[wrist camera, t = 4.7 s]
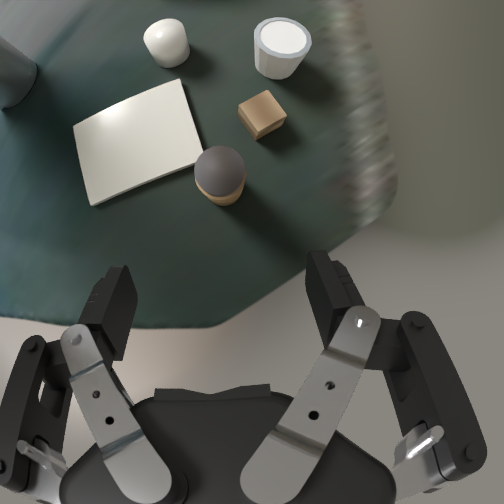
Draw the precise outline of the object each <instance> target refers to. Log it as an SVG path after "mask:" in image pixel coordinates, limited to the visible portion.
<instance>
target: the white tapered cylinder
mask: <svg viewBox="0 0 504 504" xmlns="http://www.w3.org/2000/svg"><path fill="white" fill-rule="evenodd" d="M254 42H255V66H256V68H257V70H258V71H259V72H260V73H261V74H262V75H263V76H265V77H268V78H270V79H280V80H281V79H284V78H287V77H289V76H290V75H291V74H292V73H293V72H294V71H295V69H296V68H297V66H298V65H299V64H300V62H301V61H302V59H303V58H304V56H305V55H306V54H307V52H308V51H309V48H310V46H311V44H312V42H311V36H310V34H309V32H308V31H307V30H306V28H305V27H304V26H302V25H301V24H299V23H298V22H296V21H293V20H291V19H288V18H278V17H275V18H270V19H266V20H264V21H263V22H261V23H260V24H258V26H257V27H256V29H255V31H254Z"/></svg>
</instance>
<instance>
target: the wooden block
mask: <svg viewBox="0 0 504 504" xmlns="http://www.w3.org/2000/svg"><path fill="white" fill-rule="evenodd" d="M286 116H287V115H286V114H285V112H284V111H283V110H282V108H281V107H280V105H279V104H278V103H277V101H276V100H275V99H274V97H273V96H272V95H271V93H270V92H269V91H268V90H266V91H264V92H262V93H260V94H258V95H256V96H255V97H253V98H251V99H249V100H247V101H245V102H243V103H242V104H240V105H239V109H238V117H239V118H240V120H241V121H242V123H243V124H244V125H245V127H246V128H247V130H248V131H249V132H250V134H251V135H252V137H253V138H254V140H255V141H256V140H257V139H259V138H261V137H263V136H264V135H266V134H268V133H269V132H271V131H273V130H275V129H277V128H278V127H280V126H282V124H283V122H284V120H285V118H286Z"/></svg>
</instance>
